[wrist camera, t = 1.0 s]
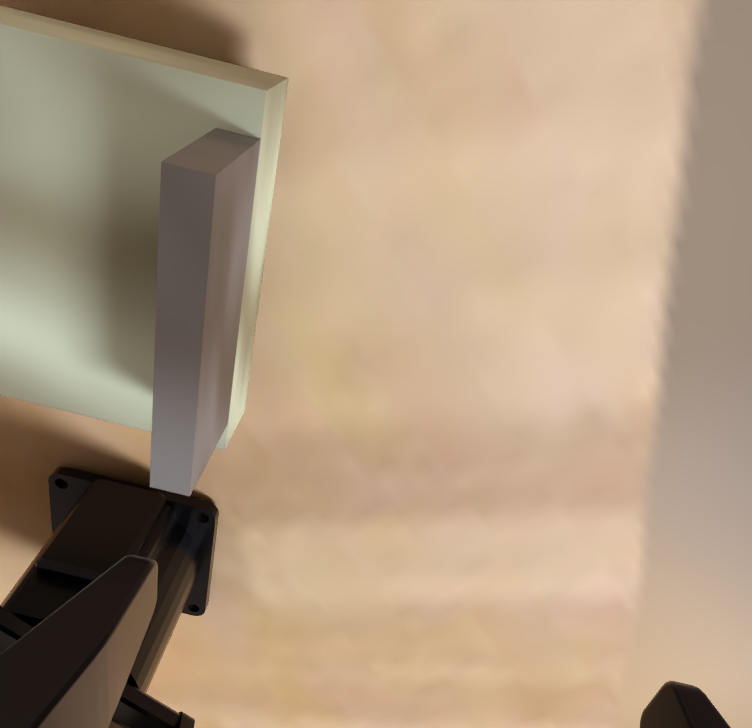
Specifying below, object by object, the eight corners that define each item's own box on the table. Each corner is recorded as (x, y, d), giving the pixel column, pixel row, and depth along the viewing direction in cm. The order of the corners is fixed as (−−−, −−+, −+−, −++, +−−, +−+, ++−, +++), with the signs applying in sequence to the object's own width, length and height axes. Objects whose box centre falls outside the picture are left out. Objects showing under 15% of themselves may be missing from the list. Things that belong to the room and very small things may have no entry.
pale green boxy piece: (255, 390, 21) (187, 524, 16) (20, 332, 21) (-125, 449, 16) (299, 71, 16) (220, 117, 11) (-12, -8, 16) (-243, 1, 11)
